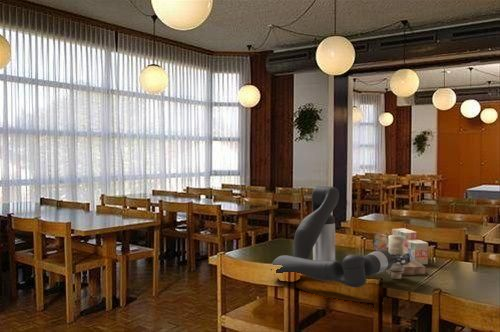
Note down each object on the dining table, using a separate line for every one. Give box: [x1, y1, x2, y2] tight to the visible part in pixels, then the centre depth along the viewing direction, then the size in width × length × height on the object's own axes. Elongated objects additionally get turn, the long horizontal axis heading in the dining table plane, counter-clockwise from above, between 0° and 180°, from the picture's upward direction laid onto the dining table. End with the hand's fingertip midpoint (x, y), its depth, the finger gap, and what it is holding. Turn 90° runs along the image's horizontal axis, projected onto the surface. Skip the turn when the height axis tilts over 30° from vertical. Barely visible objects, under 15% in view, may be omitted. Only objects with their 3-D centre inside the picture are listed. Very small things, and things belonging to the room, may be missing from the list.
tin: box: [372, 232, 389, 252], centre depth 227 cm, size 15×3×8 cm, turn 13°
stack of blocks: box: [391, 227, 429, 265], centre depth 211 cm, size 21×6×12 cm, turn 9°
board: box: [384, 260, 426, 276], centre depth 191 cm, size 14×12×3 cm
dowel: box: [388, 234, 404, 280], centre depth 180 cm, size 6×6×16 cm
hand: (397, 254), depth 181 cm, fingers open, 8 cm apart
